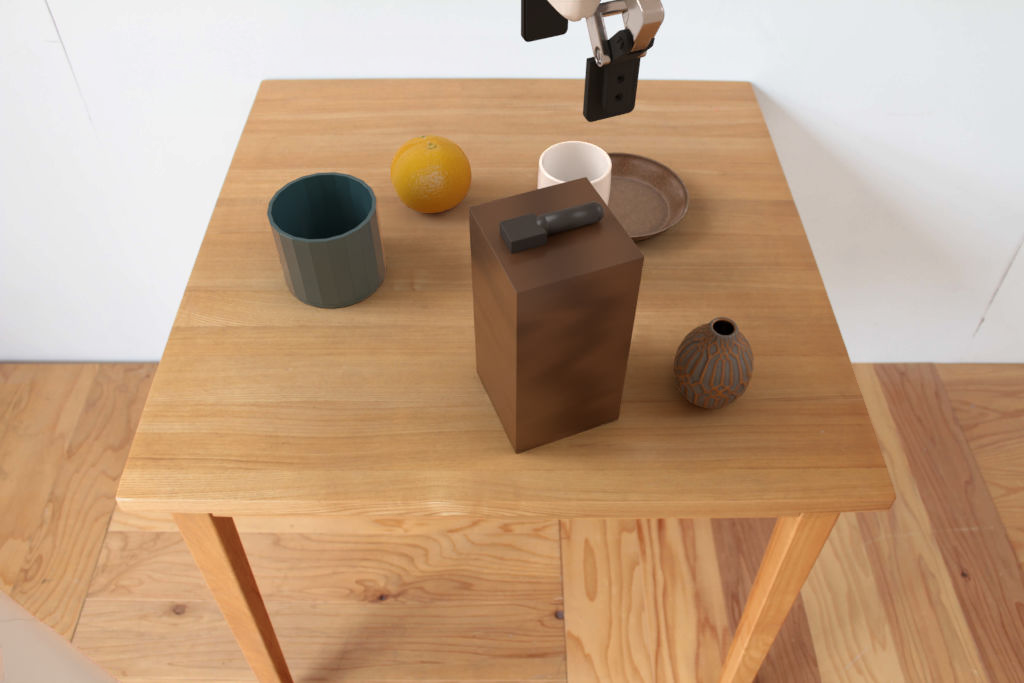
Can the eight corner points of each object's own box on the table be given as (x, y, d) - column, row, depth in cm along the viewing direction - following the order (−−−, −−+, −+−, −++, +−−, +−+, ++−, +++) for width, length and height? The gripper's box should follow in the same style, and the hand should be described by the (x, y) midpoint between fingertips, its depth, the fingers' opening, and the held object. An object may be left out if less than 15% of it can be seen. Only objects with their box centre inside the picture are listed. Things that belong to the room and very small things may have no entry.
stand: (515, 454, 74) (516, 293, 59) (476, 371, 80) (468, 206, 65) (618, 419, 77) (645, 256, 62) (573, 342, 83) (586, 176, 68)
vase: (665, 360, 81) (679, 296, 75) (738, 362, 81) (758, 298, 74) (672, 419, 77) (686, 356, 70) (749, 421, 77) (771, 359, 70)
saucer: (656, 161, 102) (659, 142, 100) (706, 241, 92) (711, 222, 90) (538, 181, 99) (538, 162, 97) (576, 266, 90) (578, 247, 88)
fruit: (449, 171, 100) (445, 112, 94) (485, 208, 96) (483, 149, 90) (382, 197, 97) (374, 138, 91) (415, 236, 93) (409, 177, 87)
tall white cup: (601, 304, 86) (615, 185, 75) (534, 303, 86) (538, 184, 75) (598, 258, 91) (610, 140, 79) (534, 257, 91) (538, 139, 79)
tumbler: (298, 319, 85) (279, 253, 78) (276, 253, 91) (258, 186, 84) (398, 292, 87) (388, 225, 81) (371, 229, 94) (360, 162, 87)
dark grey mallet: (511, 254, 62) (511, 237, 61) (499, 233, 63) (499, 217, 62) (609, 227, 64) (611, 210, 63) (595, 208, 65) (597, 191, 64)
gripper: (460, -279, 46) (472, 21, 59) (599, -171, 35) (577, 165, 48) (587, -294, 47) (572, 0, 60) (756, -195, 37) (694, 135, 50)
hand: (574, 73), depth 54 cm, fingers open, 9 cm apart
